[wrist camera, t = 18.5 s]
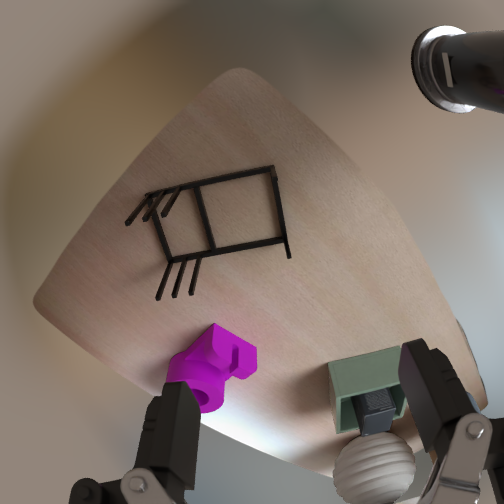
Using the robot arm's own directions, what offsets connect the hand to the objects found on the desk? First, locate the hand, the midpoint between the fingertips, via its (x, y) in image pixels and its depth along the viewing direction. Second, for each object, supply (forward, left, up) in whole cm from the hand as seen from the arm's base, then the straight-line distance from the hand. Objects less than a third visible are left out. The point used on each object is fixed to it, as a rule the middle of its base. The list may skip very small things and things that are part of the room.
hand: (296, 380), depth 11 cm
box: (-12, +42, -30) cm, 53 cm away
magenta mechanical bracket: (+15, +30, -30) cm, 45 cm away
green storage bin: (-12, +42, -30) cm, 53 cm away
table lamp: (-15, +73, -30) cm, 80 cm away
